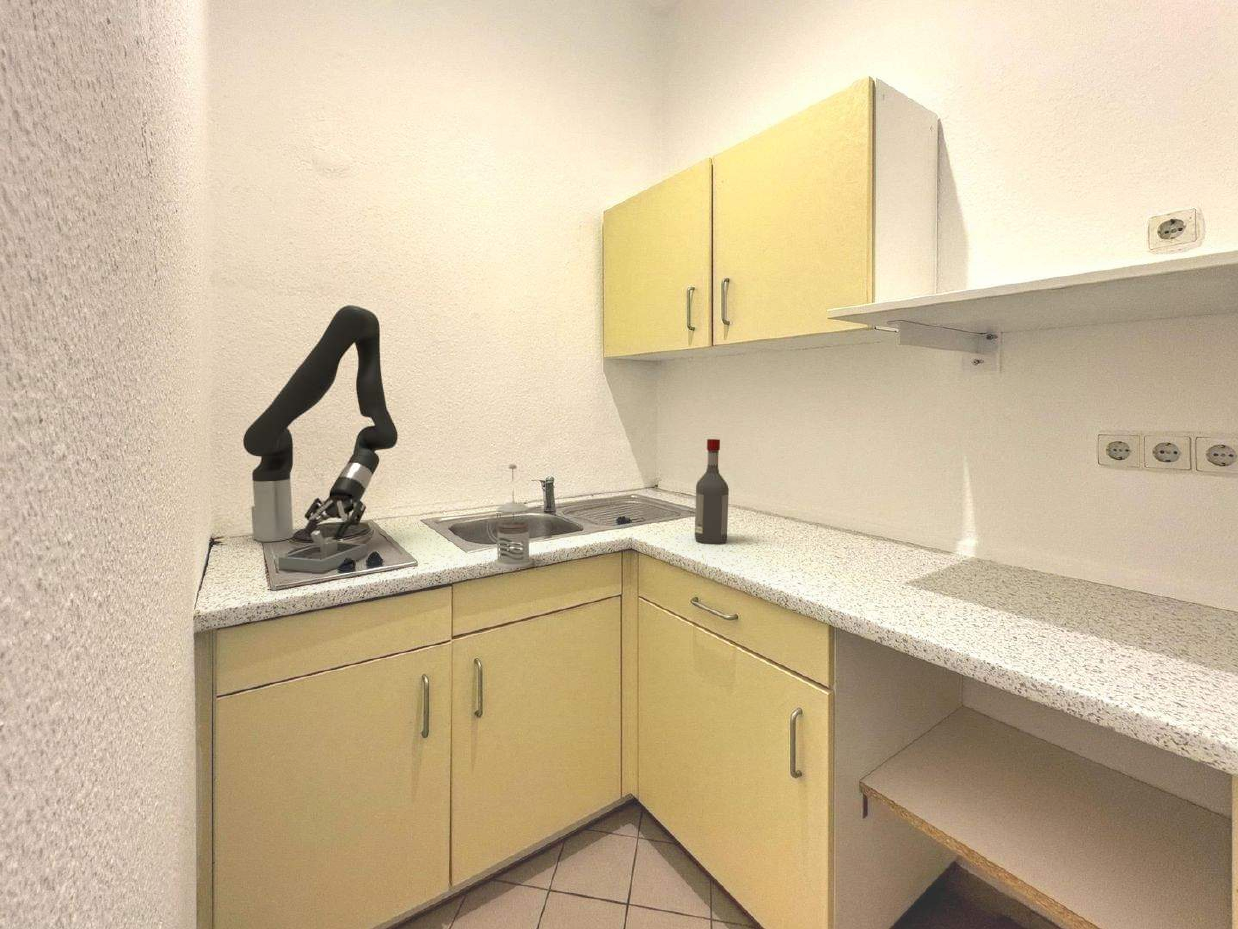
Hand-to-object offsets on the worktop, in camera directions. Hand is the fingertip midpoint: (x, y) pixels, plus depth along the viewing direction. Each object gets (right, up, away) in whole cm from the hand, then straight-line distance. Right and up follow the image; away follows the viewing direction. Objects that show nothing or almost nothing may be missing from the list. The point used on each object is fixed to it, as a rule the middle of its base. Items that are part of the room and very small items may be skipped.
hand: (321, 536), depth 138 cm
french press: (+46, -7, +4) cm, 46 cm away
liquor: (+100, -5, +28) cm, 104 cm away
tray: (0, -7, +1) cm, 7 cm away
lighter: (0, -6, +1) cm, 6 cm away
